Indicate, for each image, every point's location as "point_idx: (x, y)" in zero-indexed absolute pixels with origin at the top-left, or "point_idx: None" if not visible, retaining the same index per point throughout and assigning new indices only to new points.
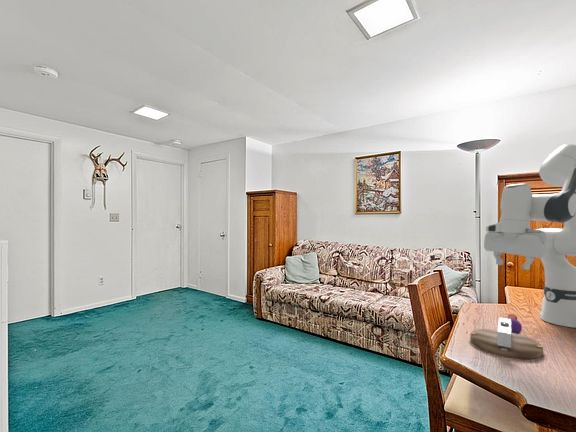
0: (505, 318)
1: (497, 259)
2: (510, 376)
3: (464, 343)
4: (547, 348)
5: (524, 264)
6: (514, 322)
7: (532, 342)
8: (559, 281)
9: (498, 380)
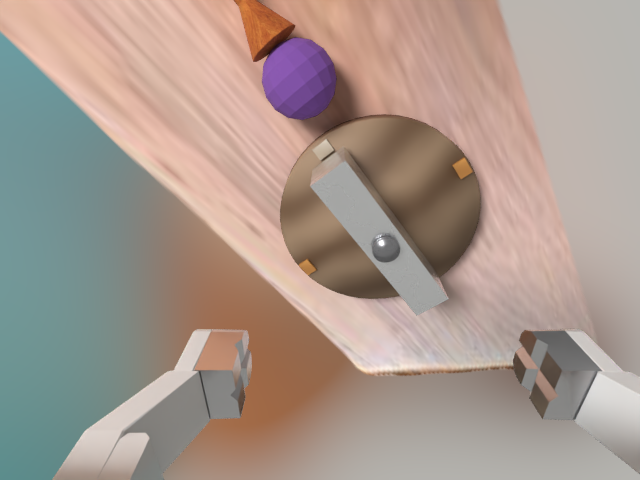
0: (331, 175)
1: (205, 422)
2: (483, 333)
3: (323, 295)
4: (446, 90)
5: (573, 418)
6: (320, 96)
7: (428, 151)
8: None
9: (479, 361)
